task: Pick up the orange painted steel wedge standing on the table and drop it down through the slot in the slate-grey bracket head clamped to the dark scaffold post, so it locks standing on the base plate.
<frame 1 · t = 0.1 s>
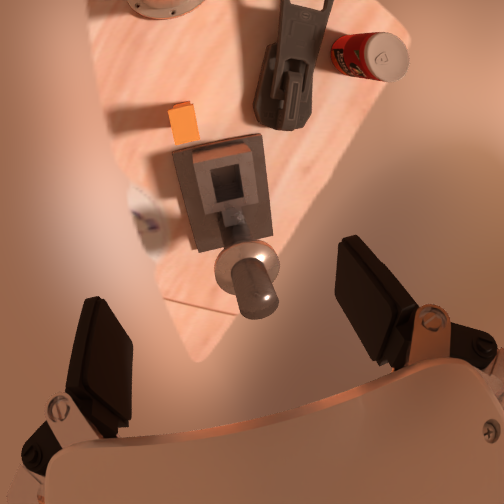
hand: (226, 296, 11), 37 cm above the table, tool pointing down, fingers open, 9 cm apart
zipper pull: (286, 54, 36), on the table
wedge: (184, 113, 38), on the table
canned food: (349, 55, 37), on the table
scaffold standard: (226, 194, 48), on the table
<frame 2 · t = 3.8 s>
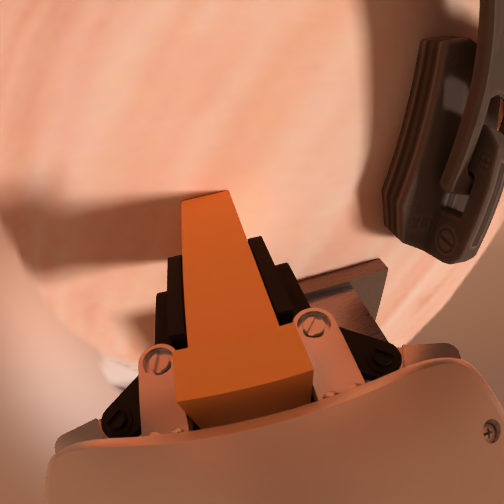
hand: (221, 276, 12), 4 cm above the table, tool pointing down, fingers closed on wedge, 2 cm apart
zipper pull: (449, 70, 12), on the table
wedge: (212, 226, 15), on the table, touching gripper
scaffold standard: (292, 359, 24), on the table
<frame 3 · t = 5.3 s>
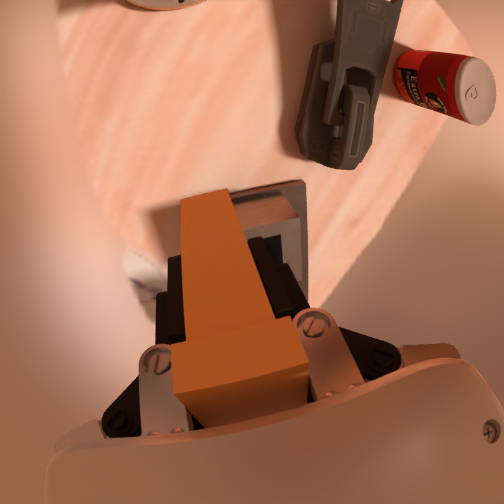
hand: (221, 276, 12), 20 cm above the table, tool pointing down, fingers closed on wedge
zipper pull: (338, 59, 25), on the table
wedge: (211, 224, 15), point 16 cm above the table, touching gripper
canned food: (413, 76, 27), on the table
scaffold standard: (253, 258, 37), on the table
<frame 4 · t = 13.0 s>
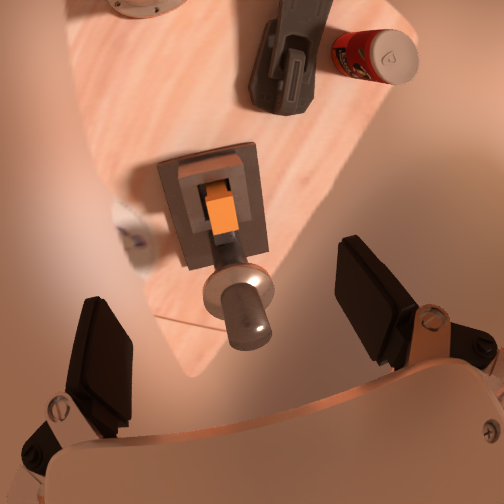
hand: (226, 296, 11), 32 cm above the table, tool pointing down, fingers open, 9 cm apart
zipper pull: (287, 33, 31), on the table
wedge: (213, 182, 40), point 1 cm above the table, touching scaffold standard
canned food: (351, 55, 34), on the table
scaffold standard: (217, 209, 44), on the table
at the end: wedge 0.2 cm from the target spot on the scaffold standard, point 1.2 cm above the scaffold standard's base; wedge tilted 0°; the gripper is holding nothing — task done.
